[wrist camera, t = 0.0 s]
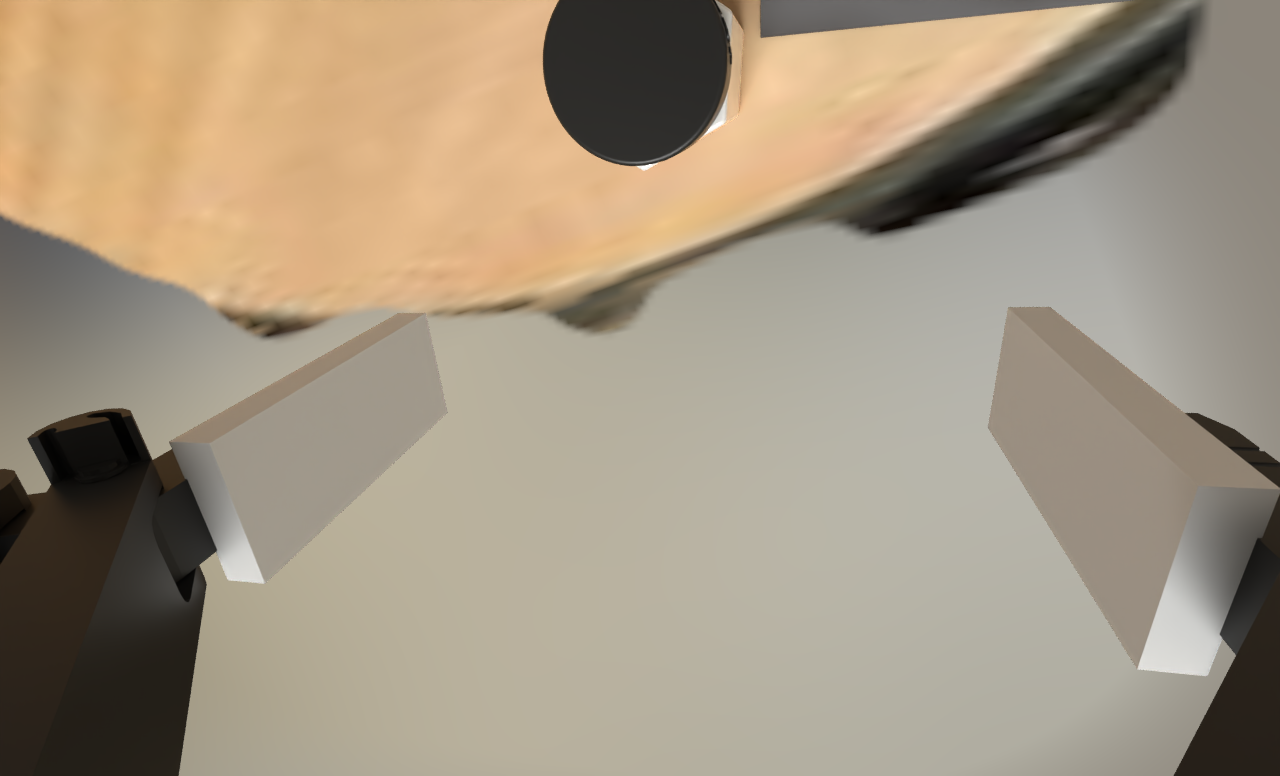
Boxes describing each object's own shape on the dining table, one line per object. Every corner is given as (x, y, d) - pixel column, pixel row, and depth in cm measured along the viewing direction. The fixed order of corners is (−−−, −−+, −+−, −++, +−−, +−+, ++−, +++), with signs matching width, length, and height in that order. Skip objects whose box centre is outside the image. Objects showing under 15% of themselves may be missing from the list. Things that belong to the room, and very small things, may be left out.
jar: (779, 48, 36) (777, 28, 25) (702, 177, 40) (671, 206, 29) (645, -41, 35) (586, -100, 25) (580, 97, 39) (503, 98, 28)
